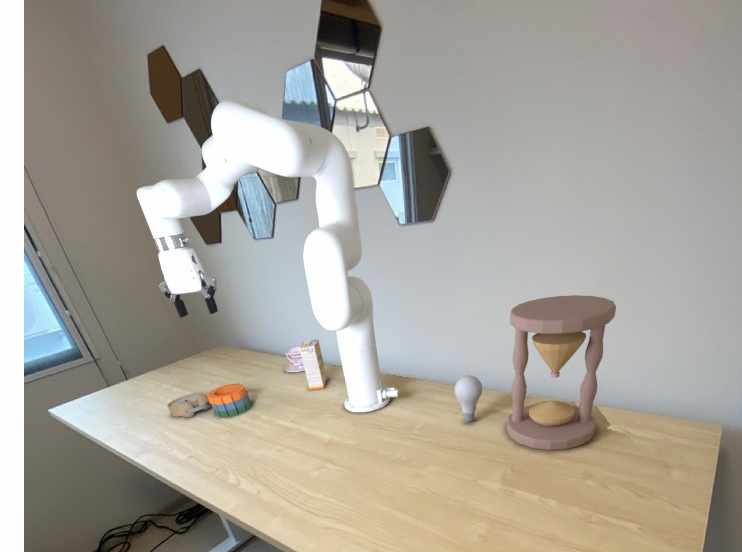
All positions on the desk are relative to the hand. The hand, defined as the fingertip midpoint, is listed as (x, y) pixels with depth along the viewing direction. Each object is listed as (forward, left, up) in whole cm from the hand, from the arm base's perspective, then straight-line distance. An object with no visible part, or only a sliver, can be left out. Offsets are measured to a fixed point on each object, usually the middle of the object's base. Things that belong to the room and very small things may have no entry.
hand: (199, 314), depth 114 cm
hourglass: (-91, +24, -26) cm, 98 cm away
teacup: (-13, -28, -26) cm, 41 cm away
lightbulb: (-74, +19, -26) cm, 81 cm away
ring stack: (-4, +6, -26) cm, 27 cm away
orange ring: (-4, +6, -22) cm, 23 cm away
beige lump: (+10, +6, -26) cm, 29 cm away
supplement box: (-26, -10, -26) cm, 38 cm away
